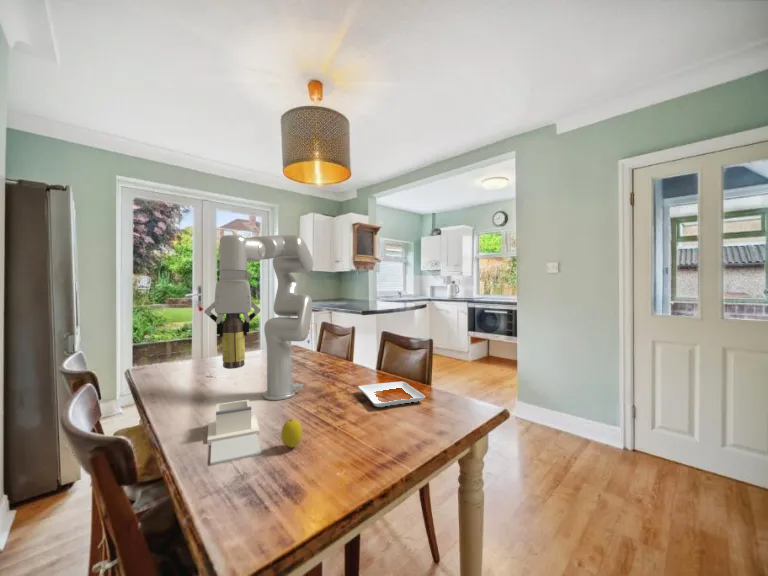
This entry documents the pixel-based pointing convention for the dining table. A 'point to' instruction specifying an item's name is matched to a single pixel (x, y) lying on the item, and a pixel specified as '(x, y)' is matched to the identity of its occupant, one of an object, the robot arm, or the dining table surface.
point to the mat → (234, 449)
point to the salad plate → (372, 388)
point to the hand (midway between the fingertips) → (233, 335)
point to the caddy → (232, 421)
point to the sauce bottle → (233, 341)
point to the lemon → (291, 433)
